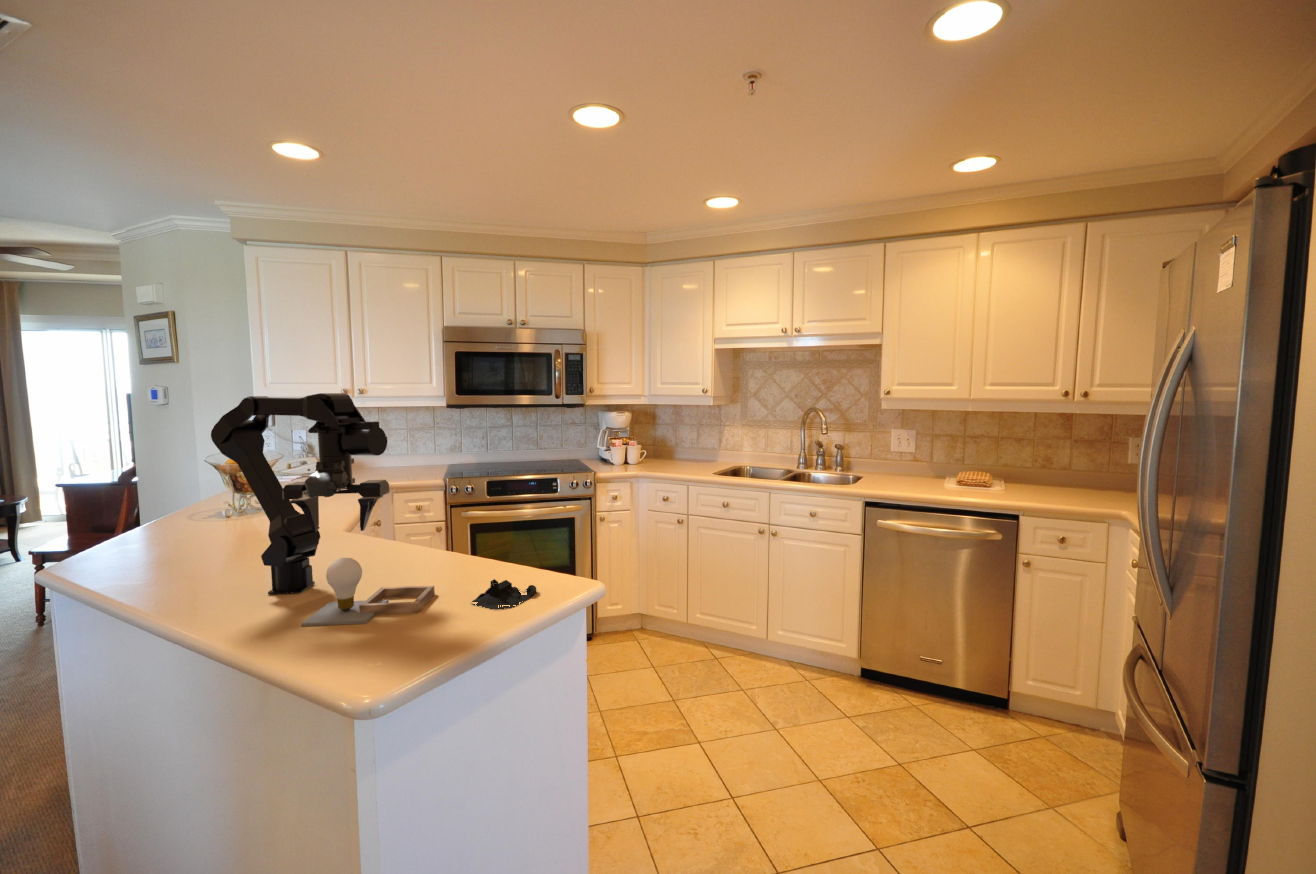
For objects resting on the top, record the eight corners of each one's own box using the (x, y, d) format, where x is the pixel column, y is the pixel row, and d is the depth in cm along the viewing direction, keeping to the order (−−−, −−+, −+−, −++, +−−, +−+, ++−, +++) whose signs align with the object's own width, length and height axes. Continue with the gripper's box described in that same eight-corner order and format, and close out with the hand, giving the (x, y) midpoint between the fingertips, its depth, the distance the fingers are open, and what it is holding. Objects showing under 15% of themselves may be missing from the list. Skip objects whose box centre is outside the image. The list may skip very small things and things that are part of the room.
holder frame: (359, 615, 110) (359, 605, 110) (381, 596, 120) (380, 587, 120) (418, 612, 111) (417, 603, 110) (434, 594, 121) (434, 585, 121)
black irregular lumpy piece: (507, 614, 111) (506, 588, 110) (464, 608, 114) (463, 583, 114) (542, 594, 122) (541, 570, 121) (502, 589, 125) (501, 566, 125)
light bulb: (369, 609, 111) (366, 557, 111) (336, 619, 107) (333, 564, 106) (355, 603, 115) (352, 552, 114) (322, 611, 110) (319, 559, 110)
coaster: (301, 626, 105) (301, 623, 105) (330, 604, 116) (330, 601, 116) (365, 623, 106) (365, 620, 106) (388, 602, 117) (388, 599, 117)
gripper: (263, 460, 111) (269, 542, 113) (366, 458, 113) (371, 539, 114) (295, 454, 123) (299, 529, 124) (388, 452, 124) (392, 526, 125)
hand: (339, 531), depth 121 cm, fingers open, 9 cm apart
